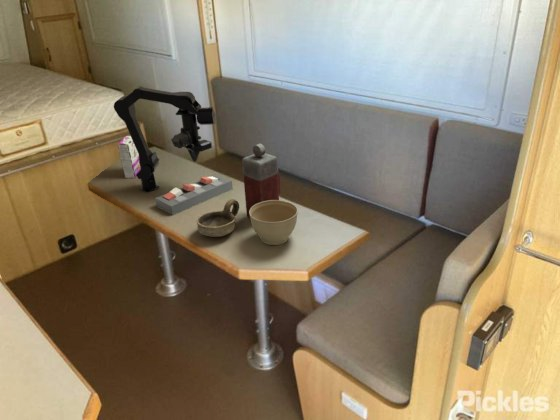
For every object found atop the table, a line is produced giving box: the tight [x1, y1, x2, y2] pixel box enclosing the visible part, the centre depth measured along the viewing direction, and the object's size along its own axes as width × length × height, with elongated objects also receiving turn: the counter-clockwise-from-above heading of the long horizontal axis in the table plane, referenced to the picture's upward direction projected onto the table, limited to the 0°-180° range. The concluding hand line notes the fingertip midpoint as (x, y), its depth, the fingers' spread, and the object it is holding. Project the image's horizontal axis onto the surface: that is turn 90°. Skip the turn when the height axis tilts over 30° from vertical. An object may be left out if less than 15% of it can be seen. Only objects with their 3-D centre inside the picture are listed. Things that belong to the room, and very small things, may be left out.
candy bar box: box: [117, 135, 141, 179], centre depth 214 cm, size 11×5×16 cm, turn 179°
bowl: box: [196, 198, 240, 238], centre depth 166 cm, size 14×18×10 cm
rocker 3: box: [199, 176, 218, 184], centre depth 198 cm, size 4×6×2 cm, turn 136°
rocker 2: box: [181, 183, 201, 191], centre depth 192 cm, size 4×6×2 cm, turn 136°
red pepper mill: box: [241, 143, 282, 218], centre depth 171 cm, size 9×11×28 cm
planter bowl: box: [249, 199, 299, 246], centre depth 160 cm, size 16×16×11 cm
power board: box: [155, 173, 233, 216], centre depth 192 cm, size 11×30×4 cm, turn 136°
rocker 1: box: [163, 186, 183, 201], centre depth 187 cm, size 4×6×2 cm, turn 136°
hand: (194, 161), depth 196 cm, fingers closed
